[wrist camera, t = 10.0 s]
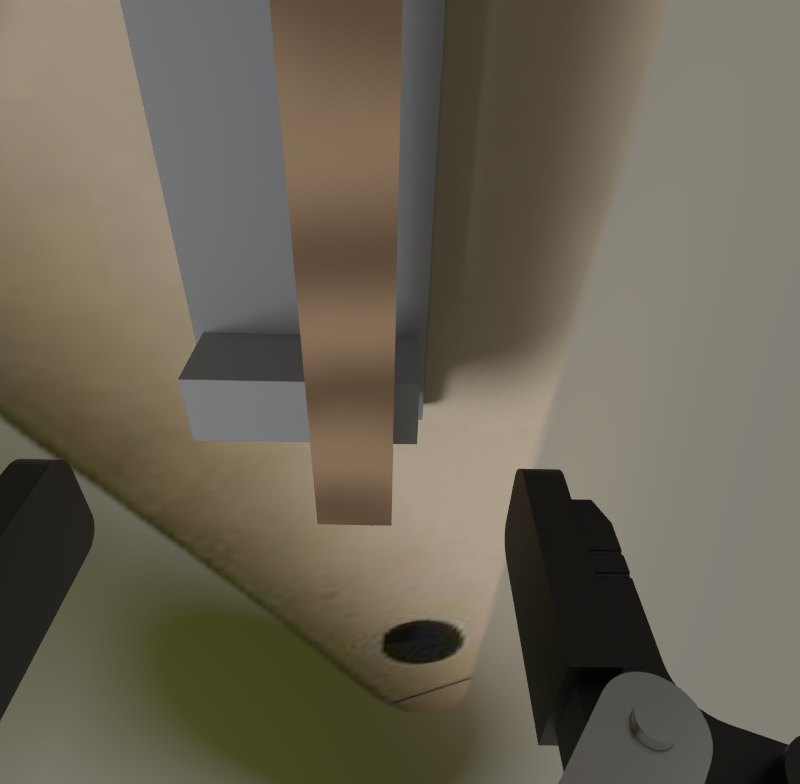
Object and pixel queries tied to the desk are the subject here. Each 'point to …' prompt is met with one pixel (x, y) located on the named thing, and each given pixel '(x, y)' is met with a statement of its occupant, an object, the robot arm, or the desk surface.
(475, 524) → the desk surface
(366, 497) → the wooden plank
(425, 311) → the notch rack
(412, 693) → the desk surface
